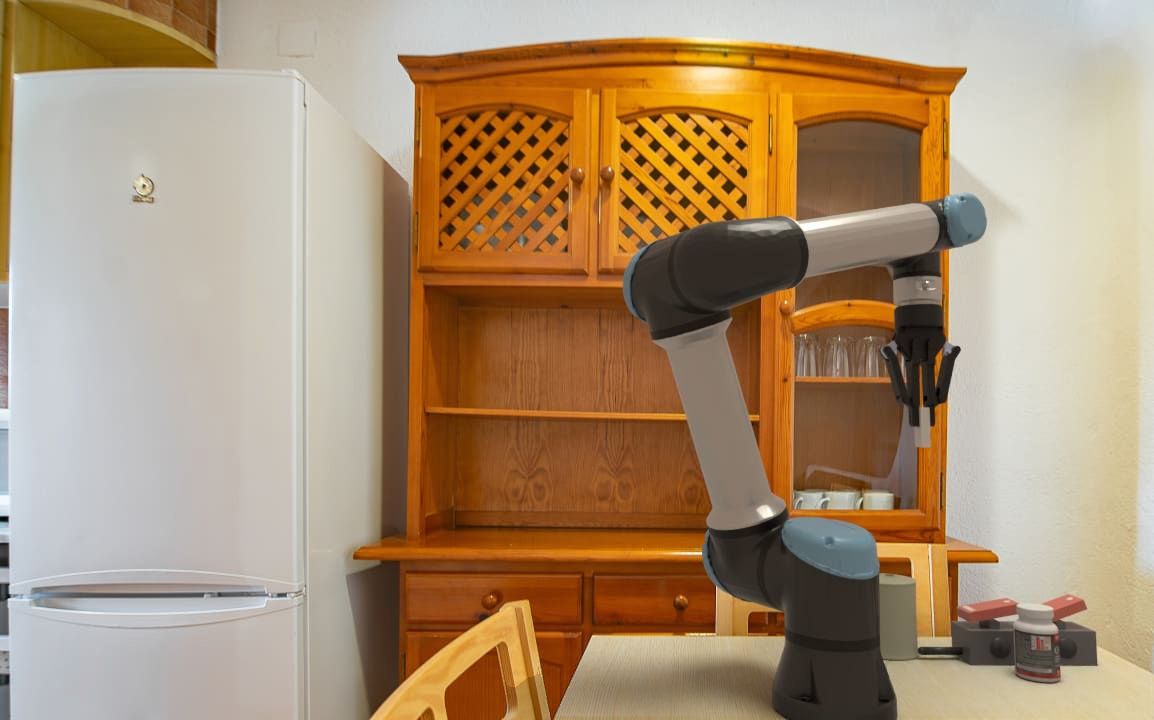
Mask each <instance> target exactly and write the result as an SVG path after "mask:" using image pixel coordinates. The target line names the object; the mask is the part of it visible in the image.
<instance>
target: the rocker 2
mask: <svg viewBox="0 0 1154 720" xmlns="http://www.w3.org/2000/svg"><path fill="white" fill-rule="evenodd" d="M1041 604H1042V605H1046V606H1050V607H1052V608H1053V610H1054V617H1053V618H1052V622H1054V621H1057V620H1062V619H1064V618H1067V617H1070V616H1072V615H1075V614H1078V613H1081V612H1084V611H1086V610H1088V607H1087V605H1086V602H1085V600H1084V599H1082V598H1080V597H1077V596H1074V595H1071V594H1069V593H1067V594H1064V595H1061V596H1059V597H1056V598H1053V599H1051V600H1048V601H1045V602H1042V603H1041Z"/></svg>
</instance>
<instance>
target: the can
mask: <svg viewBox="0 0 1154 720" xmlns="http://www.w3.org/2000/svg"><path fill="white" fill-rule="evenodd" d="M916 586H917V580H916V579H915V578H913V577H910V576H906V575H901V574H896V573H895V574H894V573H886V572H885V573H883V572H882V573H880V572H879V594H880V650H881V654H882V657H883V660H884V661H885V660H886V661H888V660H889V661H910V660H914V659H915V660H916V659H917V658H918V657H919V656H920V654H919V653H918V648H919V643H918V628H917V627H918V625H917V624H918V622H917V621H918V620H917V617H918V616H917V587H916Z"/></svg>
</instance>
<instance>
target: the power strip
mask: <svg viewBox="0 0 1154 720" xmlns="http://www.w3.org/2000/svg"><path fill="white" fill-rule="evenodd" d="M1015 621H1016V620H1015ZM1015 621H1014V620H1013V621H1012V620H1007V621H1005V620H1000V621H999V620H997V619H996V618H995V619H989V620H984V621H978V622H973V623H970V622H968V621H966V620H951V621H950V627H951V646H918V653H919V655H922V656H956V657H957V658H958V659H960V658H961V660H962V661H964V662H965V663H967V664H968V665H970V666H1015V659H1014V635H1013V624H1014V622H1015ZM1052 623H1054V624H1055V625H1056V626H1057V628H1058V632H1059V652H1060V666H1098V645H1097V644H1098V643H1097V631H1096V630H1094V629H1091V628H1088V627H1086V626H1083V625H1082V624H1078V623H1077V622H1074V621H1066V620H1065V621H1064V620H1062V619H1060V620H1057V621H1054V622H1052Z"/></svg>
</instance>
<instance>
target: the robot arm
mask: <svg viewBox="0 0 1154 720" xmlns="http://www.w3.org/2000/svg"><path fill="white" fill-rule="evenodd" d="M987 225H988V219H987V215H986V209H985V206H984V204H983V202H982V201H981V200H980V199H979V198H978V197H977V195H974V194H973V193H970V192H961V193H957V194H948V195H947V196H945V197H942V198H938V199H934V200H927V201H921V202H916V203H915V202H914V203H912V202H911V203H906V204H900V205H893V206H887V207H880V208H874V209H868V210H861V211H854V212H847V213H840V214H835V215H828V216H822V217H816V218H809V219H803V220H795V219H794V218H793V217H789V216H788V215H775V216H767V217H757V218H742V219H741V218H739V219H730V220H729V219H728V220H720V221H719V220H718V221H717V220H716V221H710V222H706V223H702V224H699V225H698V224H697V226H694V227H692V228H689V229H686V230H684V231H681V232H678V233H675V234H672V235H669V236H666V237H663V238H659V239H657V240H654V241H651V242H650V244H648V245H645V246H644V247H642V248H640V249H639V250H638V251H636V252H635V254H633V256H632V257H631V258H630V259H629V262H628V264H627V266H626V267H625V270H624V274H623V276H622V278H623V279H622V294H623V298H624V303H626V306H627V309H629V312H630V313H631V314H632V315H633V316H634V317H635V318H637V319H638V320H640V322H642V323H644V324H646V325H647V328H648V331H649V334H650V338H651V341H652V343H653V344H655V345H657V346H658V347H660V348H662V349H664V350H665V352H666V353H667V357H668V361H669V364H670V367H671V371H672V374H673V377H674V381H675V384H676V388H677V391H678V394H679V398H680V401H681V405H682V408H683V412H684V415H685V418H686V419H685V420H686V421H687V425H688V429H689V431H690V436H691V439H692V441H693V445H694V449H695V452H696V456H697V459H698V462H699V466H700V469H701V472H702V476H703V480H704V482H705V486H706V489H707V493H708V495H709V500H710V503H711V511H710V512H709V513H708V515H707V517H706V521H705V522H706V526H707V531H706V532H705V535H704V538H705V541H704V543H702V546H701V556H702V563H703V567H704V570H705V571H706V575H707V576H708V578H709V579H710V580H711V582H712V583H713V584H714V585H715V587H717V588H718V589H719V590H721V591H722V592H724V593H726V594H728V595H730V596H732V597H733V598H736V599H738V600H741V601H742V602H746V603H754V604H758V605H760V606H764V607H766V608H770V609H774V610H776V611H780V612H783V613H784V646H783V650H782V651H781V652H782V653H781V656H780V659H779V662H778V667H777V669H776V672H775V676H774V678H773V683H772V686H771V695H772V696H771V702H772V707H773V709H774V710H775V711H777V713H779V714H781V715H782V716H784V717H786V718H787V719H789V720H897V719H898V699H897V695H896V692H895V688H894V687H893V683H892V680H891V677H890V675H889V672H888V669H887V666H886V663H885V659H883V657H882V654H881V650H880V594H879V573H880V568H881V567H880V562H879V556H878V546H877V541H876V539H875V536H873V534H872V533H871V532H870V531H868V530H867V529H865V528H864V527H861V526H859V525H857V524H854V523H850V522H847V521H843V520H839V519H830V518H829V519H828V518H825V517H815V516H814V517H813V516H800V517H799V516H797V517H792V518H790V517H791V516H790V513H789V510H788V507H787V504H786V501H785V500H784V499H783V498H782V497H779V496H777V494H775V493H773V492H772V491H771V488H770V487H771V486H770V483H769V481H768V477H767V473H766V470H765V467H764V463H763V460H762V457H761V456H762V455H761V453H760V449H759V446H758V441H757V439H756V436H755V431H754V430H753V429H754V428H753V426H752V421H751V419H750V415H749V412H748V407H747V404H746V401H745V398H744V394H743V391H742V386H741V384H740V380H739V377H738V374H737V371H736V367H735V363H734V360H733V356H732V353H731V349H730V346H729V342H728V340H727V339H728V338H727V336H726V333H727V330H728V328H729V326H730V324H731V322H732V321H733V316H732V313H731V309H732V308H736V307H738V306H741V305H743V304H746V303H749V302H752V301H753V300H756V299H760V298H762V297H766V296H768V295H771V294H774V293H777V292H778V293H779V292H781V291H787V290H790V289H794V288H796V287H797V286H799V285H800V284H802V282H803V281H804V279H806V278H811V277H816V276H821V275H825V274H826V275H827V274H832V273H835V272H840V271H846V270H850V269H855V268H860V267H865V266H870V267H871V266H873V267H881V268H882V267H883V268H891V269H892V281H893V284H892V286H893V293H892V294H893V304H894V305H896V307H895V308H894V309H893V319H894V321H893V322H894V335H893V336H892V340H891V342H889V344H886V345H885V346H881V347H879V350H878V352H879V354H880V356H881V357H882V359H883V360H884V361H885V365H886V368H887V372H888V376H889V380H890V383H891V387H892V390H893V393H894V397H895V400H896V402H897V404H901V405H904V406H905V407H906V408H907V409H908V411H907V412H908V425H909V427H913V429H914V447H915V448H931V447H932V445H931V444H932V440H931V439H932V438H931V435H932V434H931V428H932V427H935V426H936V408H937V406H939V405H942V404H945V403H947V401H948V397H949V392H950V391H949V390H950V388H951V387H950V386H951V381H952V376H953V372H954V367H955V361H956V359H957V358H958V356H959V354H960V353H961V351H962V348H961V347H960V346H959V345H953V343H950V342H948V341H947V337H946V335H945V333H944V307H943V306H942V305H941V304H940V303H941V302H943V283H942V282H943V279H942V272H941V268H942V267H941V266H942V265H941V262H942V261H941V254H942V253H941V252H942V251H948V250H951V249H956V248H963V247H964V246H966V245H971V244H974V243H977V242H978V241H979V240H980V239H982V238H983V236H984V235H985V232H986V229H987ZM941 351H942V352H941ZM898 352H899V353H900V355H901V356H902V357H903V359H904V367H905V376H906V377H905V379H904V375H903V372H902V369H901V365H900V361H899V359H898V356H897V355H898ZM940 352H941V355H942V358H941V361H940V365H939V371H938V374H937V375H938V376H937V379H936V369H935V368H936V367H935V366H936V364H937V363H936V362H937V361H936V357H937V356H938V354H939V353H940ZM920 368H921V371H920ZM920 373H921V387H920ZM920 389H921V390H920ZM920 391H921V392H920ZM921 393H922V396H921ZM921 398H922V400H921ZM921 401H922V406H923V407H920V405H921Z"/></svg>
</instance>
